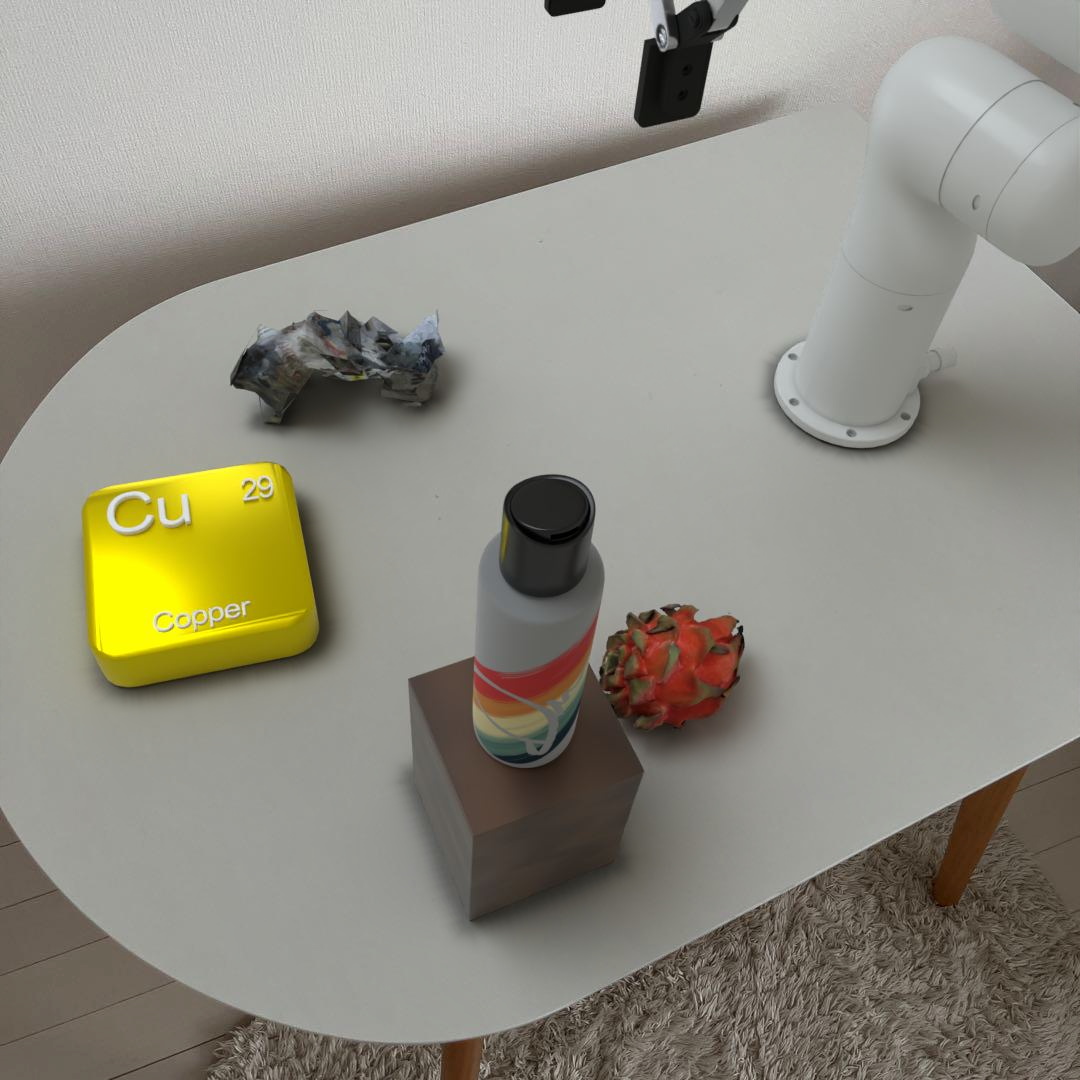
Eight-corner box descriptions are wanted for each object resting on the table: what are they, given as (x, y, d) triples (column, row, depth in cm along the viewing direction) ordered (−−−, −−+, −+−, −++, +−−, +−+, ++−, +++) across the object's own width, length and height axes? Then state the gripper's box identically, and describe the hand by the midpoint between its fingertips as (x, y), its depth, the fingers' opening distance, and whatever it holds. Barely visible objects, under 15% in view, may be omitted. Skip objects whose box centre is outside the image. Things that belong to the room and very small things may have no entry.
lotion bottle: (495, 785, 59) (512, 575, 43) (457, 696, 62) (459, 468, 46) (591, 749, 61) (643, 533, 44) (550, 664, 64) (584, 432, 47)
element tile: (104, 695, 76) (85, 660, 72) (94, 523, 84) (77, 484, 80) (324, 652, 79) (318, 616, 75) (294, 490, 87) (286, 450, 83)
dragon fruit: (576, 729, 78) (710, 675, 84) (647, 777, 71) (788, 713, 77) (561, 619, 76) (700, 570, 81) (633, 657, 69) (780, 600, 74)
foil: (437, 429, 88) (267, 329, 81) (372, 484, 95) (212, 396, 89) (469, 324, 94) (313, 224, 88) (405, 383, 102) (259, 295, 96)
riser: (551, 730, 77) (569, 623, 65) (614, 861, 71) (644, 770, 60) (413, 780, 74) (407, 678, 62) (468, 921, 69) (472, 837, 57)
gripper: (901, -308, 36) (778, 149, 50) (654, -464, 45) (608, -38, 59) (700, -286, 34) (630, 185, 48) (482, -454, 43) (476, -15, 57)
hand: (618, 61), depth 53 cm, fingers open, 9 cm apart
